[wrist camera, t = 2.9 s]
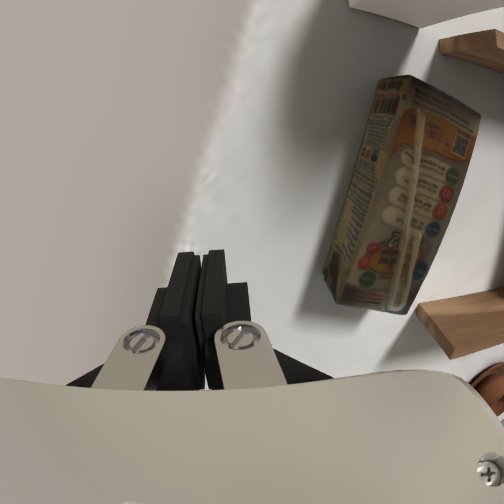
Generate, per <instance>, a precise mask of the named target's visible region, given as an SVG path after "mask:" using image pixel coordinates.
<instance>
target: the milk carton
mask: <svg viewBox="0 0 504 504" xmlns="http://www.w3.org/2000/svg"><path fill="white" fill-rule="evenodd" d="M349 7H350V8H354V9H359V10H363V11H367V12H370V13H374V14H378V15H381V16H385V17H388V18H391V19H395V20H398V21H401V22H404V23H407V24H410V25H413V26H416V27H419V28H424V27H427V26H430V25H433V24H437V23H440V22H443V21H447V20H450V19H454V18H458V17H461V16H465V15H469V14H473V13H477V12H482V11H486V10H490V9H495V8H500V7H504V0H349Z"/></svg>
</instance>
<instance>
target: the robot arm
mask: <svg viewBox="0 0 504 504" xmlns="http://www.w3.org/2000/svg"><path fill="white" fill-rule="evenodd" d="M205 373H206V378H207V383H208V387H209V389H212V390H201V389H204V388H205ZM0 504H504V427H503V425H502V424H501V422H500V421H499V419H498V418H497V416H496V415H495V413H494V412H493V411H492V409H491V408H490V406H489V405H488V404H487V403H486V401H485V400H484V399H483V398H482V397H481V395H480V394H479V393H478V392H477V391H476V390H475V389H474V388H473V387H472V386H471V385H470V384H468V383H467V382H466V381H464V380H463V379H462V378H460V377H457V376H455V375H452V374H448V373H444V372H439V371H429V370H395V371H385V372H377V373H370V374H364V375H357V376H350V377H342V378H335V379H334V378H333V377H331V376H329V375H327V374H325V373H322V372H320V371H318V370H316V369H314V368H312V367H310V366H308V365H306V364H303V363H301V362H299V361H297V360H295V359H293V358H291V357H289V356H287V355H285V354H283V353H281V352H279V351H277V350H275V349H273V348H272V345H271V343H270V341H269V338H268V336H267V333H266V331H265V330H264V328H263V327H262V326H260V325H259V324H257V323H254V322H251V315H250V305H249V295H248V286H247V282H244V283H230V284H227V274H226V263H225V253H224V249H223V250H209V254H208V255H203V261H202V268H201V262H200V256H199V255H194V252H182V253H178V255H177V258H176V262H175V265H174V268H173V271H172V275H171V278H170V281H169V284H168V287H166V288H158V290H157V292H156V295H155V298H154V301H153V304H152V307H151V310H150V313H149V316H148V319H147V322H146V325H145V326H138V327H134V328H132V329H130V330H128V331H127V332H125V333H124V334H123V335H122V336H121V337H120V339H119V340H118V342H117V344H116V345H115V347H114V349H113V350H112V352H111V354H110V356H109V357H108V359H107V360H106V362H105V363H104V364H103V365H101V366H99V367H97V368H95V369H94V370H92V371H90V372H88V373H87V374H85V375H83V376H82V377H80V378H78V379H76V380H74V381H72V382H71V383H69V384H67V385H66V386H63V385H53V384H44V383H36V382H29V381H23V380H14V379H5V378H0Z"/></svg>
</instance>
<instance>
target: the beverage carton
mask: <svg viewBox="0 0 504 504" xmlns="http://www.w3.org/2000/svg"><path fill="white" fill-rule="evenodd" d="M480 120H481V115H480V114H479V113H477V112H476V111H474V110H473V109H471V108H470V107H468V106H466V105H465V104H463V103H462V102H460V101H459V100H457V99H455V98H454V97H452V96H450V95H448V94H446V93H444V92H443V91H441V90H439V89H437V88H435V87H433V86H431V85H429V84H427V83H425V82H423V81H421V80H419V79H418V78H415V77H413V76H411V75H402V76H396V77H389V78H385V79H381V80H380V81H379V85H378V88H377V91H376V95H375V99H374V102H373V106H372V109H371V113H370V117H369V120H368V124H367V128H366V132H365V135H364V139H363V142H362V146H361V150H360V153H359V156H358V160H357V164H356V167H355V170H354V174H353V177H352V181H351V184H350V187H349V191H348V194H347V197H346V200H345V203H344V207H343V210H342V213H341V216H340V219H339V222H338V225H337V228H336V232H335V235H334V238H333V242H332V245H331V249H330V252H329V255H328V258H327V261H326V264H325V266H324V269H323V275H324V280H325V282H326V284H327V286H328V288H329V289H330V291H331V293H332V296H333V298H334V300H335V302H336V304H339V305H344V306H349V307H356V308H364V309H370V310H376V311H382V312H388V313H393V314H399V315H406V314H407V313H408V311H409V309H410V307H411V305H412V303H413V301H414V299H415V297H416V295H417V294H418V292H419V289H420V287H421V285H422V283H423V281H424V279H425V278H426V276H427V274H428V271H429V269H430V267H431V265H432V262H433V260H434V258H435V256H436V254H437V251H438V249H439V246H440V244H441V242H442V239H443V237H444V234H445V232H446V229H447V227H448V225H449V222H450V219H451V217H452V214H453V212H454V209H455V206H456V203H457V200H458V197H459V195H460V192H461V189H462V186H463V183H464V180H465V176H466V173H467V170H468V166H469V163H470V160H471V156H472V153H473V149H474V145H475V141H476V137H477V134H478V128H479V123H480Z"/></svg>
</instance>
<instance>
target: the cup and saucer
mask: <svg viewBox="0 0 504 504" xmlns="http://www.w3.org/2000/svg"><path fill="white" fill-rule="evenodd" d="M471 386H472V387H473V388H474V389H475V390H476V391H477V392H478V393H479V394H480V395H481V397H482V398H483V399H484V400H485V401H486V403H487V404H488V405H489V406H490V408H491V409H492V411H493V412H494V413H495V415H496V416H499V415H500V414H501V413H503V412H504V362H500V363H498V364H496V365H494V366H492V367H491V368H489V369H488V370H486V371H485V372H484V373H483V374H481V375H480V376H479V377H478V378H477V379H476V380H475V381H474V382H473V384H472V385H471Z"/></svg>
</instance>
